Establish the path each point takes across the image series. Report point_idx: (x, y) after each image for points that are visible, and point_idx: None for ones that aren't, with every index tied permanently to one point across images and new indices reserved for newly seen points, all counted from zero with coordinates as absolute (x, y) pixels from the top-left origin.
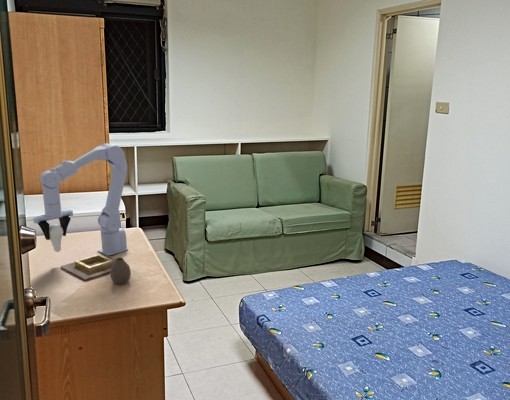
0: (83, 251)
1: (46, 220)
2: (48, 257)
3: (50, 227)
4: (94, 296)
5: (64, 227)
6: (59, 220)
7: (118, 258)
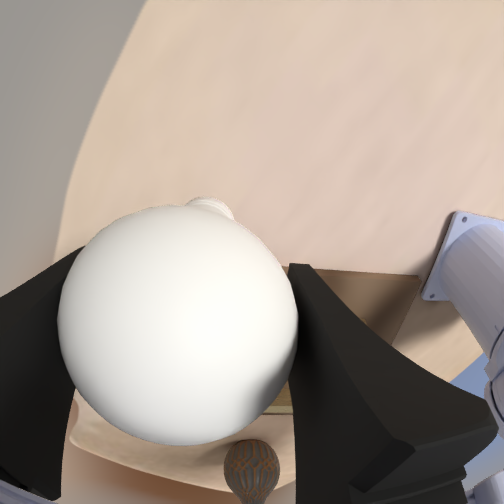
0: (430, 135)
1: (14, 497)
2: (234, 31)
3: (93, 407)
4: (158, 448)
5: (294, 412)
6: (357, 406)
7: (257, 501)
